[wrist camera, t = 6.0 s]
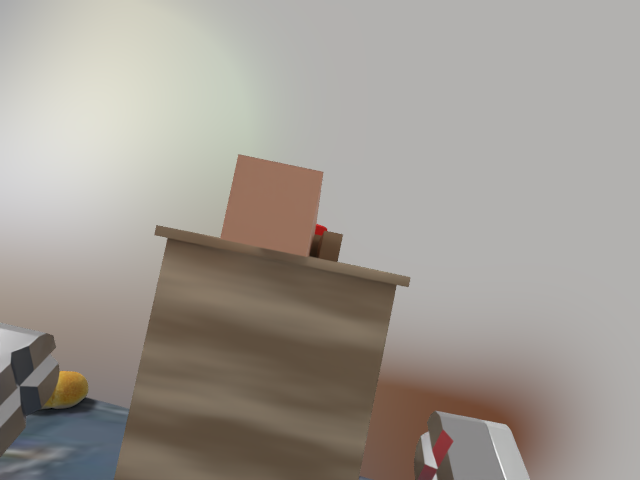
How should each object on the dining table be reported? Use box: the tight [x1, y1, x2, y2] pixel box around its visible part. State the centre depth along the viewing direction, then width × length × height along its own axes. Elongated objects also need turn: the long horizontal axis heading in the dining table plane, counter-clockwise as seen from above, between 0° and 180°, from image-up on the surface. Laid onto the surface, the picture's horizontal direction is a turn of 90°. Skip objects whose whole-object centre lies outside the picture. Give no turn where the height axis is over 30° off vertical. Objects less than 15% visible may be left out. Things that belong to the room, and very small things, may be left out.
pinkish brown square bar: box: [220, 155, 323, 257], centre depth 24 cm, size 24×2×2 cm, turn 1°
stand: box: [114, 225, 410, 480], centre depth 28 cm, size 17×13×28 cm
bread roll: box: [39, 371, 88, 410], centre depth 55 cm, size 8×9×4 cm
